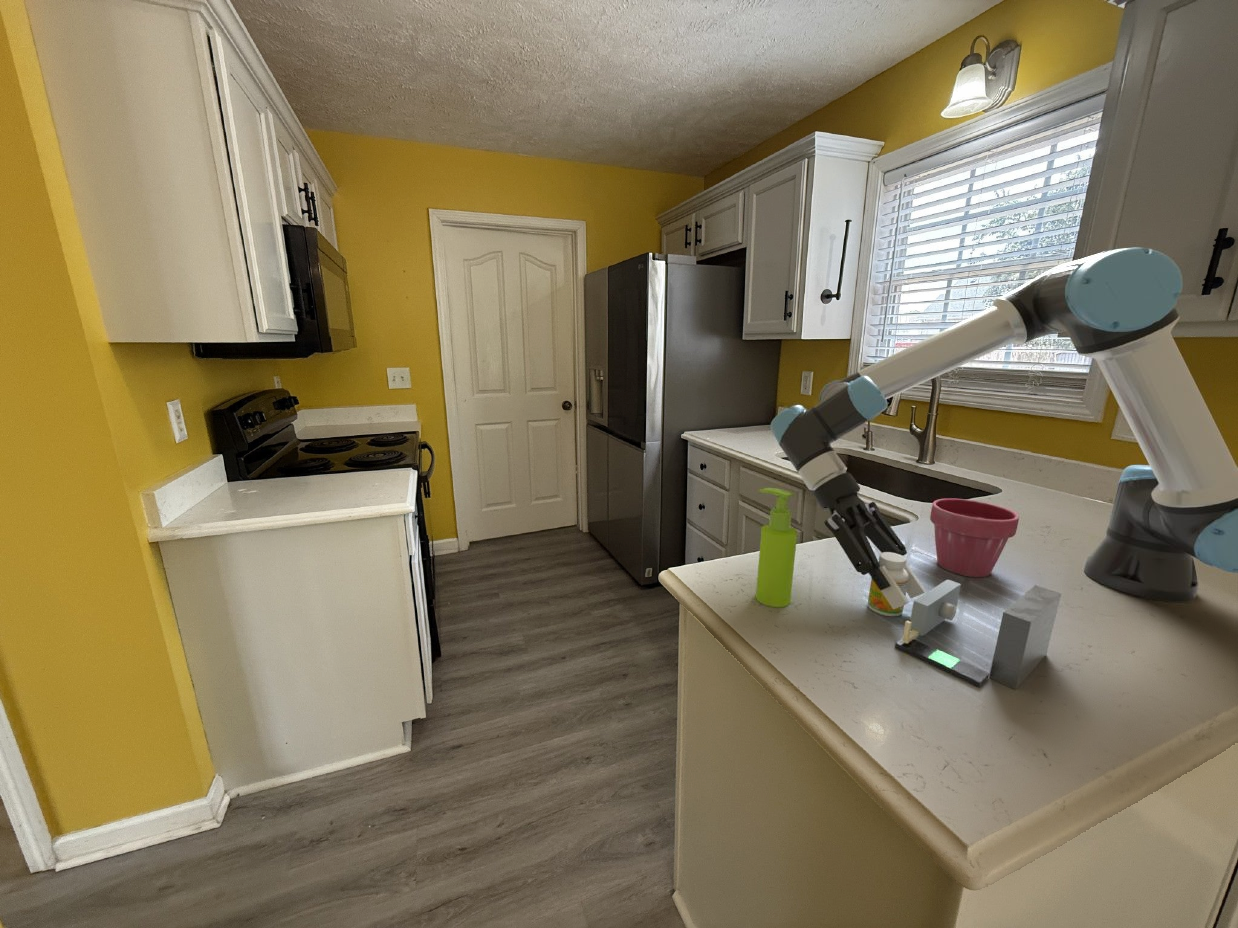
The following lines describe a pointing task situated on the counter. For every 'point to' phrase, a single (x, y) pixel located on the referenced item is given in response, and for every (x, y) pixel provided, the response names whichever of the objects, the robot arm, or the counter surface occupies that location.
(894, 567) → the supplement bottle
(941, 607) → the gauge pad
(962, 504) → the plant pot
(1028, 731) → the counter surface
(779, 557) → the soap dispenser
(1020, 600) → the frame
